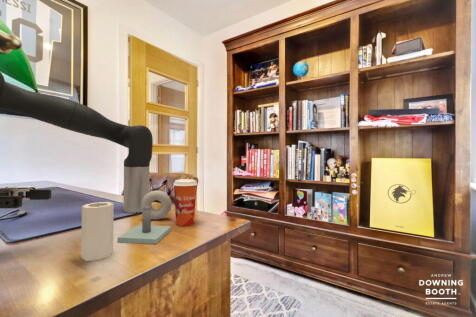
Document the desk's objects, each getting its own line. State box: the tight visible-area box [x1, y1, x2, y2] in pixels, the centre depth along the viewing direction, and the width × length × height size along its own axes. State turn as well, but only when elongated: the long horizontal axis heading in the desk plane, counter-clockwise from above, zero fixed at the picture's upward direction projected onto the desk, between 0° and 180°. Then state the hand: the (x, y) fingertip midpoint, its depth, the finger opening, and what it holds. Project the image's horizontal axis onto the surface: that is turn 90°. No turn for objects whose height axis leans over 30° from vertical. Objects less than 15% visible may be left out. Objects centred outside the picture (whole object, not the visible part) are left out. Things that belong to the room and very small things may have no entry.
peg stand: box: [116, 206, 172, 245], centre depth 60 cm, size 10×10×8 cm
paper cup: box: [173, 178, 199, 227], centre depth 71 cm, size 8×8×14 cm
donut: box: [141, 189, 172, 221], centre depth 75 cm, size 10×4×10 cm, turn 97°
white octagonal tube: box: [80, 201, 115, 262], centre depth 48 cm, size 5×5×11 cm
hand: (37, 197), depth 45 cm, fingers open, 8 cm apart
